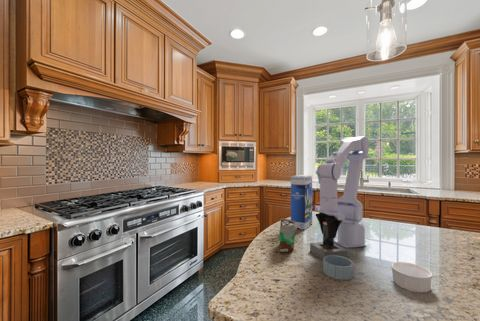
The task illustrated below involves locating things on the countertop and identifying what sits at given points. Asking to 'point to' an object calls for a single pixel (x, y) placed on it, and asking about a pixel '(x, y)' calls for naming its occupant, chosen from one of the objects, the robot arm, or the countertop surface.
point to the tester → (327, 250)
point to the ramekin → (411, 276)
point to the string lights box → (301, 200)
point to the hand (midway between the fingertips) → (328, 235)
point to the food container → (287, 236)
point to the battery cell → (326, 238)
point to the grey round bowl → (338, 267)
